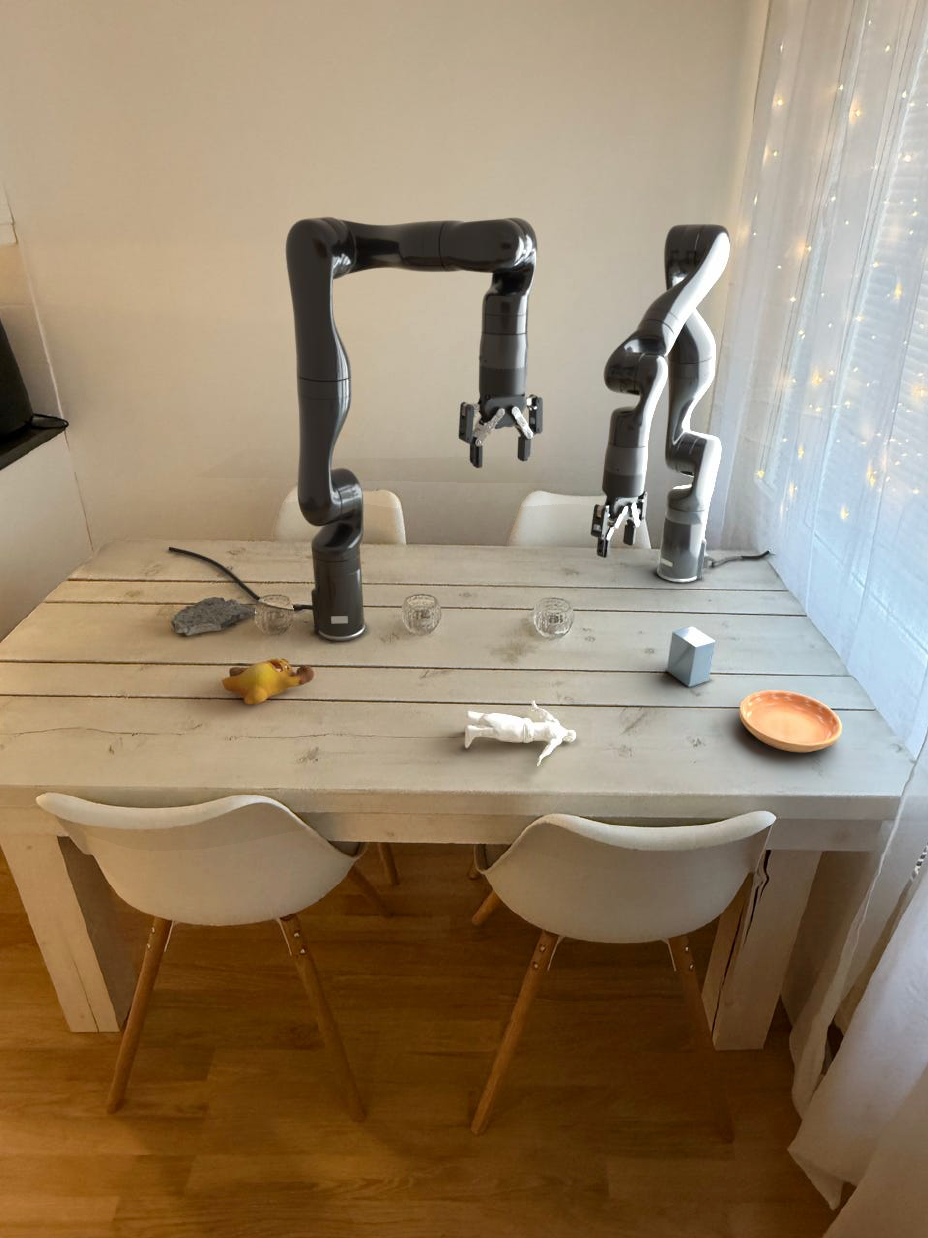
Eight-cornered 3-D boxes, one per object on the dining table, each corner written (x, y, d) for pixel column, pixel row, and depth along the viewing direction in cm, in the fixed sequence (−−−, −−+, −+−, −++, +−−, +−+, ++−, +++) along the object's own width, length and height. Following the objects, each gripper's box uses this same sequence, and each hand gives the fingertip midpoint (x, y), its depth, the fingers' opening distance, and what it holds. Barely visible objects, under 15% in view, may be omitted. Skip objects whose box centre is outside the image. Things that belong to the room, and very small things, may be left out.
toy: (214, 669, 145) (294, 645, 152) (223, 703, 146) (302, 678, 153) (228, 678, 135) (313, 652, 142) (238, 714, 136) (322, 687, 143)
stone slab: (156, 626, 166) (154, 613, 164) (223, 596, 177) (221, 584, 176) (194, 646, 159) (192, 633, 158) (261, 614, 171) (259, 601, 169)
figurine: (463, 772, 126) (578, 784, 127) (467, 744, 123) (584, 757, 124) (464, 709, 141) (566, 721, 142) (468, 684, 139) (572, 696, 139)
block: (688, 687, 148) (695, 647, 144) (666, 670, 153) (672, 631, 149) (708, 680, 150) (715, 641, 146) (685, 664, 155) (692, 625, 151)
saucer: (730, 699, 144) (733, 685, 143) (824, 707, 142) (828, 693, 141) (745, 755, 130) (748, 740, 129) (849, 764, 128) (854, 749, 127)
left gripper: (474, 370, 120) (472, 476, 128) (555, 362, 126) (549, 464, 134) (451, 361, 126) (451, 462, 134) (530, 353, 132) (525, 451, 140)
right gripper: (619, 480, 140) (610, 566, 148) (664, 463, 149) (653, 545, 157) (584, 470, 145) (577, 554, 152) (629, 454, 154) (620, 535, 161)
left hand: (500, 463), depth 134 cm, fingers open, 8 cm apart
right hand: (615, 550), depth 154 cm, fingers open, 8 cm apart
